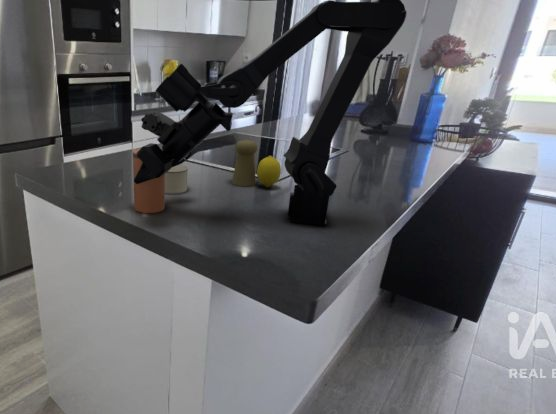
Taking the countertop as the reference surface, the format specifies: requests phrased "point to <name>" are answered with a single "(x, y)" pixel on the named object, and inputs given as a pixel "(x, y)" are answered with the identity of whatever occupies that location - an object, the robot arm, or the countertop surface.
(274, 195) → the countertop surface
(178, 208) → the countertop surface
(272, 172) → the lemon
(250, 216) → the countertop surface
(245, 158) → the cork
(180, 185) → the short cream cylinder
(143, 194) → the terracotta tall cylinder
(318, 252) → the countertop surface
